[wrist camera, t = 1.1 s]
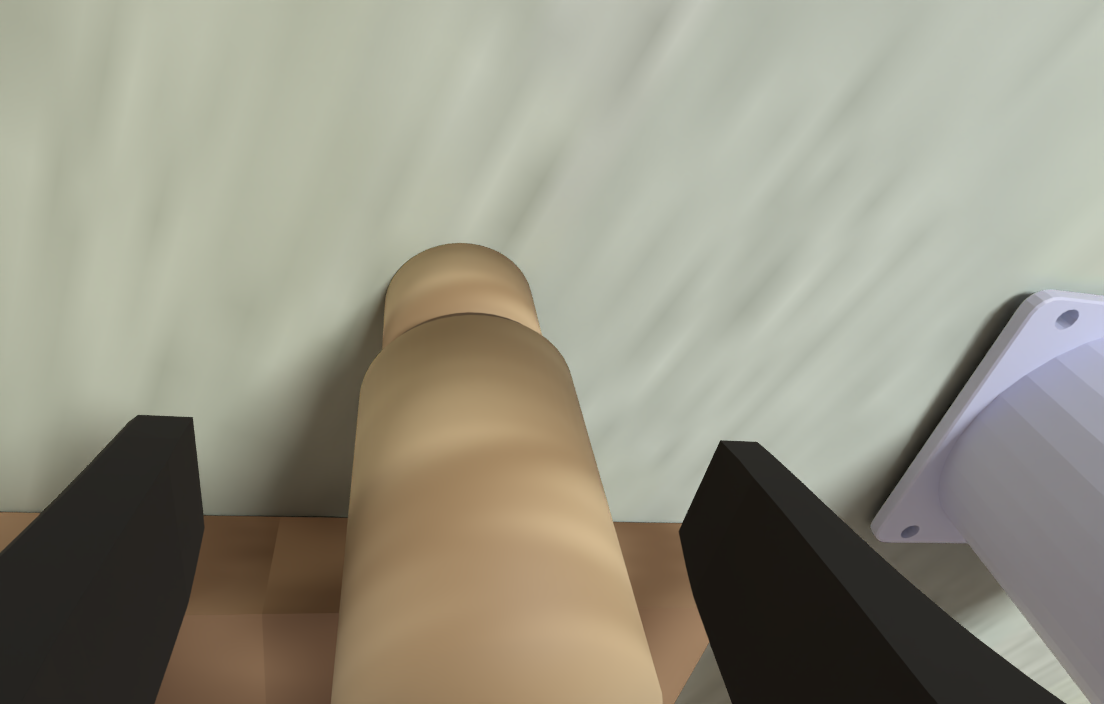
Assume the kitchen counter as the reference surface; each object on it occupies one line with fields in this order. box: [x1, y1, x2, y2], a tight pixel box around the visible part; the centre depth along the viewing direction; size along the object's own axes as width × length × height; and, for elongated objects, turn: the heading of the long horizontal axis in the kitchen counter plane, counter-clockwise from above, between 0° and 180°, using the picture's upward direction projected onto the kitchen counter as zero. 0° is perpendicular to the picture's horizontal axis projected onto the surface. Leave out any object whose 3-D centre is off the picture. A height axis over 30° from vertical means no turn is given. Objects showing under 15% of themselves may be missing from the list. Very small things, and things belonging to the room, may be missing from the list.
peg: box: [331, 243, 663, 704], centre depth 10 cm, size 3×3×8 cm
